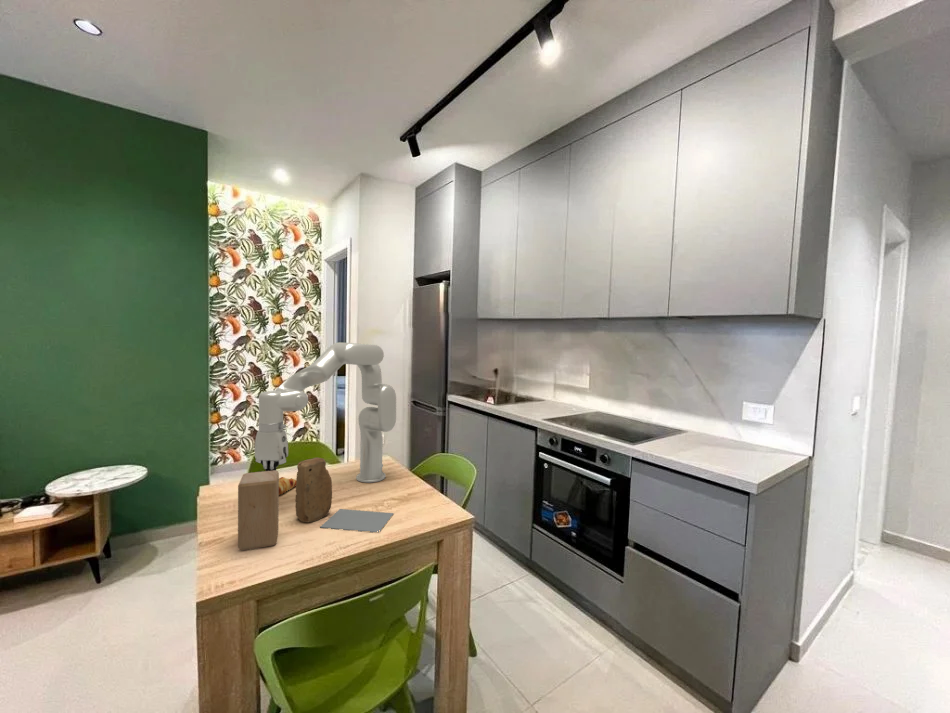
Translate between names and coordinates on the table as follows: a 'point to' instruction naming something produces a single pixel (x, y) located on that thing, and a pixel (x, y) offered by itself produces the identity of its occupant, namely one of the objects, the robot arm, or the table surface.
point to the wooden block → (258, 509)
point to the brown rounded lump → (313, 490)
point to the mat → (357, 520)
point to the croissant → (286, 484)
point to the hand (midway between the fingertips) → (270, 479)
